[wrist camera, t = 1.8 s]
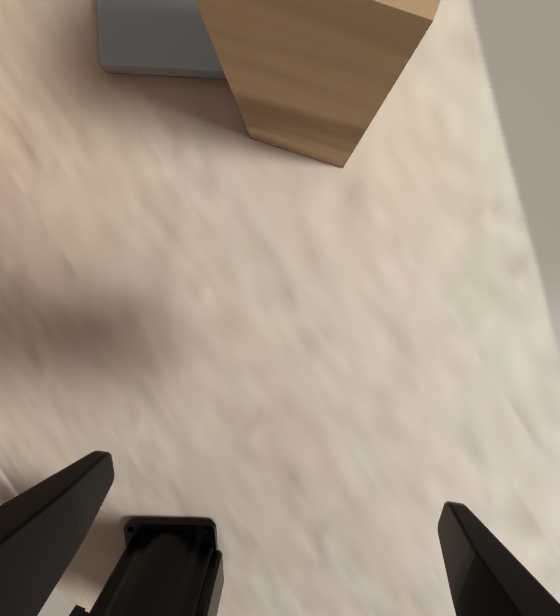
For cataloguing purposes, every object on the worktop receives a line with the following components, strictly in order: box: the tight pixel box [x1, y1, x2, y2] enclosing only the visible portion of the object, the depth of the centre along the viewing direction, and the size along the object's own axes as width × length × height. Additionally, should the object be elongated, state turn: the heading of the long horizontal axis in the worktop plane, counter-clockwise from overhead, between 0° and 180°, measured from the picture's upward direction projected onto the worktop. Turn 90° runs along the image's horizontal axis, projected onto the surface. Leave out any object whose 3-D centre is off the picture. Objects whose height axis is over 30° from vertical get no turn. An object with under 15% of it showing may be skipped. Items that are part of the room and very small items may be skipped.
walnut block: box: [195, 0, 440, 168], centre depth 12 cm, size 6×6×12 cm
